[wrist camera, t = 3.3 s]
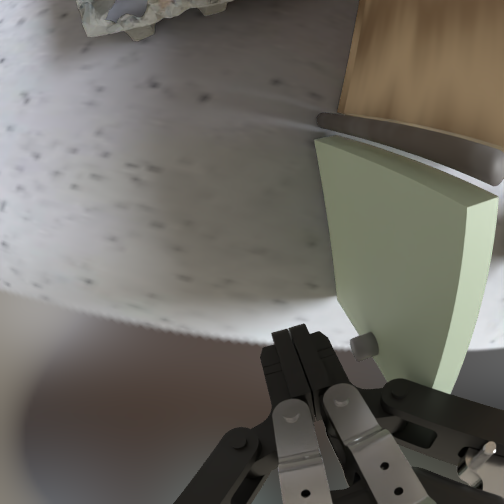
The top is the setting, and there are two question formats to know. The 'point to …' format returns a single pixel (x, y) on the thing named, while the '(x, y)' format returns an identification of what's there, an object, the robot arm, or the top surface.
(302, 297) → the top surface
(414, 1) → the cupboard
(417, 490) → the robot arm
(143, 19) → the egg carton
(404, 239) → the door
